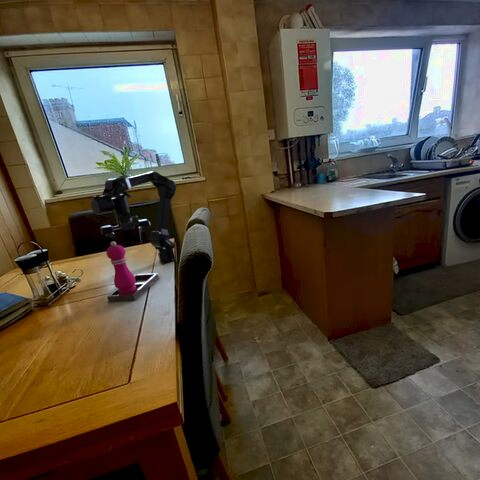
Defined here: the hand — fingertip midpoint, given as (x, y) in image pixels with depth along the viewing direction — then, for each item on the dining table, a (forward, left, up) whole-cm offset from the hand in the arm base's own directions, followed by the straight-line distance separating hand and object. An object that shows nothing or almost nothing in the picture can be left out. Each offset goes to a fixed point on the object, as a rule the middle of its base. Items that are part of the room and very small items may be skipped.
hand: (131, 246), depth 120 cm
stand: (+5, +18, -13) cm, 22 cm away
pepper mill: (+8, +20, -12) cm, 25 cm away
